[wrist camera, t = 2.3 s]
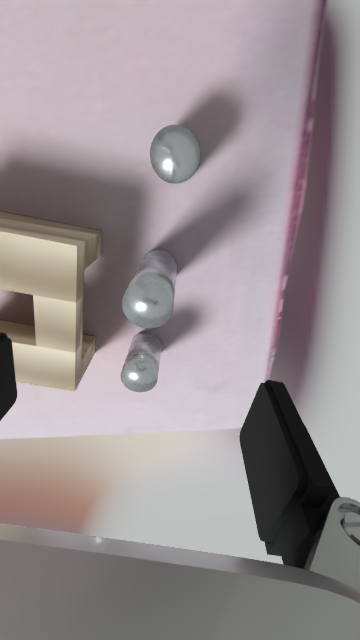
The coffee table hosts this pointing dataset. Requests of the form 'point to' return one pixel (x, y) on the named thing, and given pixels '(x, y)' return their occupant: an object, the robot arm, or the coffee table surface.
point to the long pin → (151, 290)
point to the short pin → (175, 154)
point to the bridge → (48, 297)
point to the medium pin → (142, 362)
